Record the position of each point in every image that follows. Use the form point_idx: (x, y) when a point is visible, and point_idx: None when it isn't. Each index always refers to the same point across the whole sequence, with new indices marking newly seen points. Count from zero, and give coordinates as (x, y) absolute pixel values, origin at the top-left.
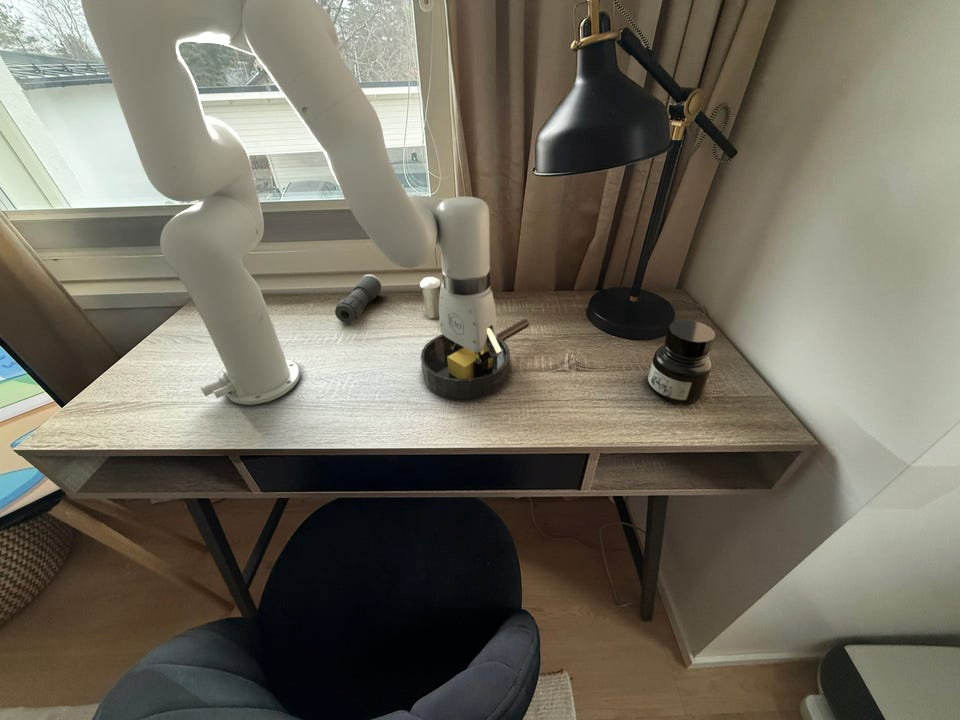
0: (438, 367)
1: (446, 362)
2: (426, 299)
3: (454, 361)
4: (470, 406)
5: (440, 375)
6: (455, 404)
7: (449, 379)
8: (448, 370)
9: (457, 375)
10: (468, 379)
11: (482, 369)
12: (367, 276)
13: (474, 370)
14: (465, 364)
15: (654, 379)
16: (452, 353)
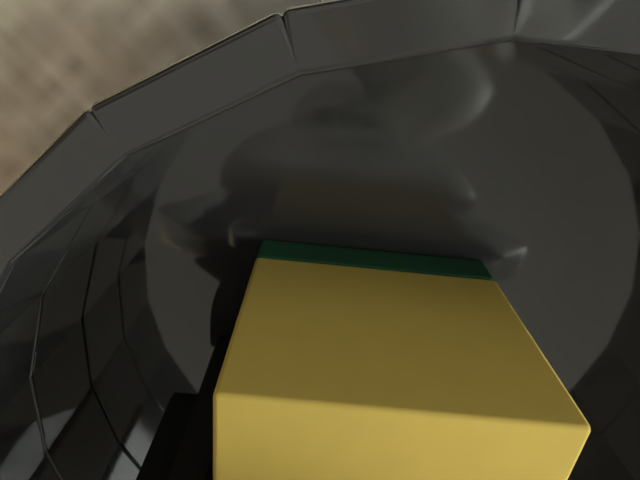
0: (637, 293)
1: (605, 371)
2: None
3: (433, 408)
4: (76, 83)
5: (425, 39)
6: (192, 15)
7: (217, 57)
8: (531, 310)
9: (371, 285)
10: (1, 239)
11: (147, 457)
12: None
13: (212, 410)
14: (249, 436)
15: None
16: (619, 461)
